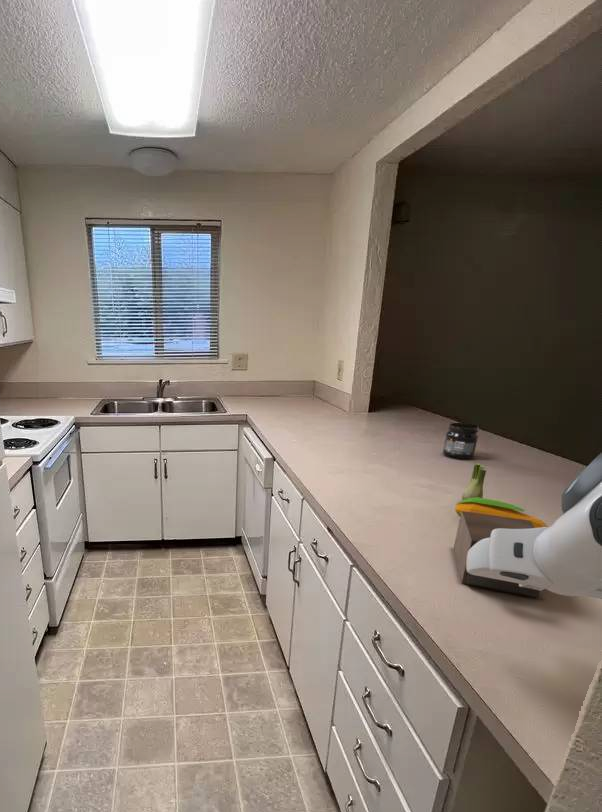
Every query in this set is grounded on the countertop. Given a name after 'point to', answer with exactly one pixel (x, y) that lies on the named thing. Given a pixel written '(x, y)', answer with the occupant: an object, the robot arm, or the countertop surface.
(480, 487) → the fennel bulb
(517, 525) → the cabinet
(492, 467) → the countertop surface
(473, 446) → the supplement container
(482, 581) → the drawer
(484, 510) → the corn
